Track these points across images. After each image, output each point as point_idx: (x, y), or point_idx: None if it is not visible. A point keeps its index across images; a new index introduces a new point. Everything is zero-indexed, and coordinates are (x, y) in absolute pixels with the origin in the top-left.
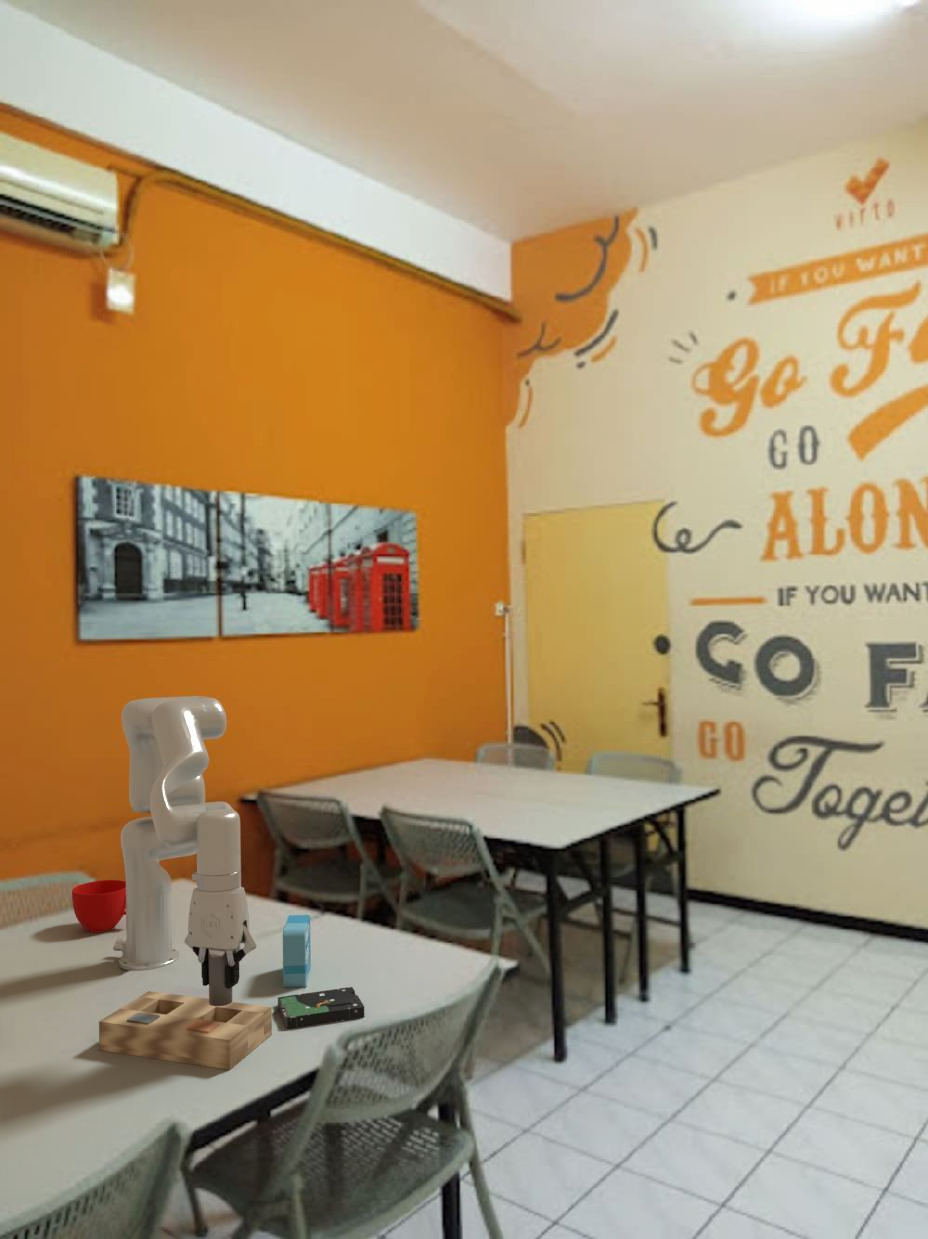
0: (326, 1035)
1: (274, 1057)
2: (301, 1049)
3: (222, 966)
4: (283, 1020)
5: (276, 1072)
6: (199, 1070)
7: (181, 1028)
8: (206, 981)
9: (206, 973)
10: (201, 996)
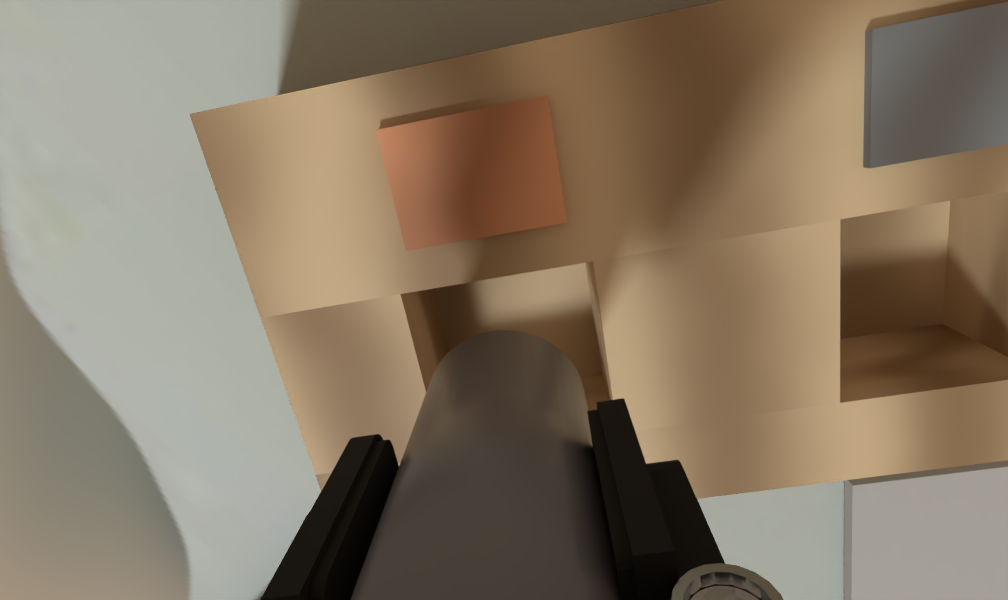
0: (192, 530)
1: (209, 304)
2: (176, 405)
3: (359, 584)
4: None
5: (90, 198)
6: (399, 38)
7: (594, 97)
8: (591, 428)
9: (600, 479)
10: (906, 598)
